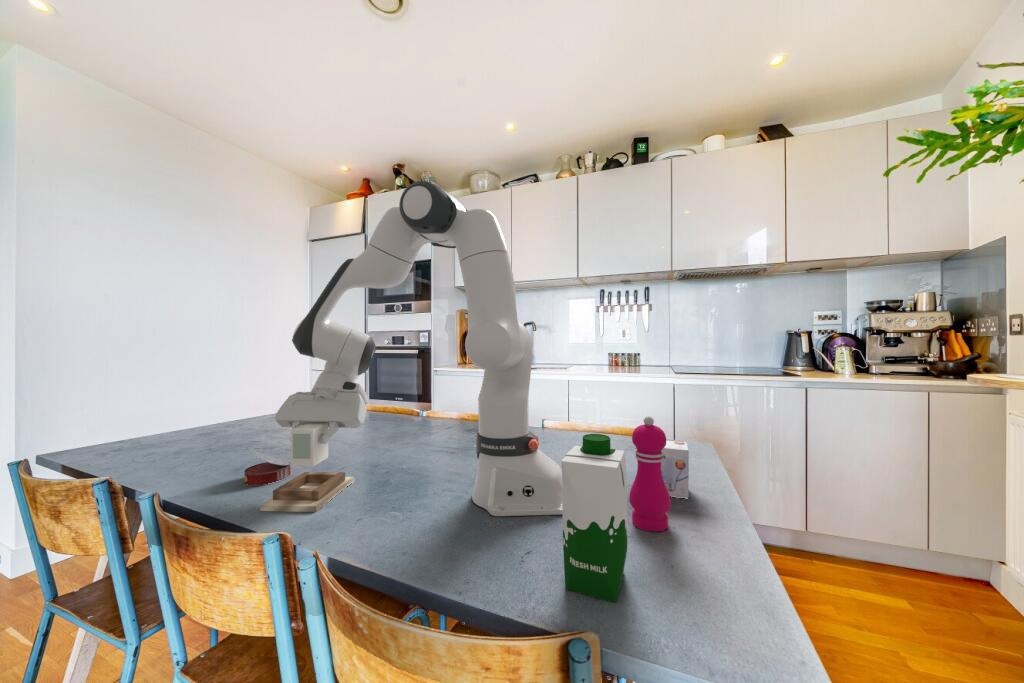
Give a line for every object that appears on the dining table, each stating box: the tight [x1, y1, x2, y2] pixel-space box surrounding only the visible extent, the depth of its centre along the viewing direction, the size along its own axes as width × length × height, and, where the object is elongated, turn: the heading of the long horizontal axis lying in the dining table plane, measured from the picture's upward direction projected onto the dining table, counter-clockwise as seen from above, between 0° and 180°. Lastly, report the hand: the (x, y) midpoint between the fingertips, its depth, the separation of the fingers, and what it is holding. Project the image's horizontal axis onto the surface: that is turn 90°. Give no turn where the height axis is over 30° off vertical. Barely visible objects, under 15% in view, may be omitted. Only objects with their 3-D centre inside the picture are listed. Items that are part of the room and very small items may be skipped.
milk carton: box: [561, 433, 628, 604], centre depth 53 cm, size 9×9×20 cm
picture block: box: [290, 423, 329, 467], centre depth 83 cm, size 5×6×8 cm
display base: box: [259, 471, 355, 513], centre depth 83 cm, size 12×16×3 cm
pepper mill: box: [628, 416, 672, 532], centre depth 69 cm, size 7×7×20 cm
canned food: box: [243, 446, 291, 486], centre depth 94 cm, size 11×10×10 cm
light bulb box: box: [661, 440, 690, 498], centre depth 83 cm, size 11×7×11 cm, turn 68°
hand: (308, 442), depth 83 cm, fingers closed on picture block, 5 cm apart
